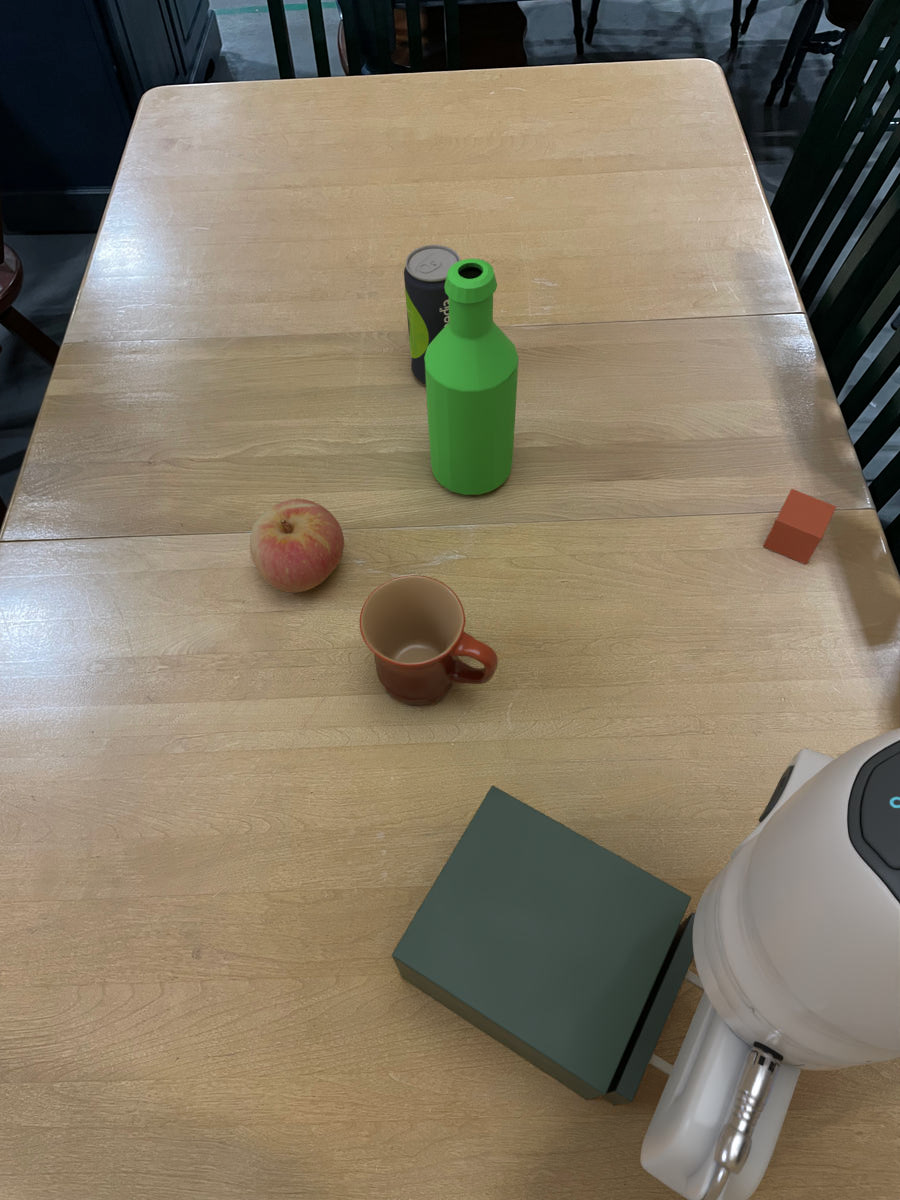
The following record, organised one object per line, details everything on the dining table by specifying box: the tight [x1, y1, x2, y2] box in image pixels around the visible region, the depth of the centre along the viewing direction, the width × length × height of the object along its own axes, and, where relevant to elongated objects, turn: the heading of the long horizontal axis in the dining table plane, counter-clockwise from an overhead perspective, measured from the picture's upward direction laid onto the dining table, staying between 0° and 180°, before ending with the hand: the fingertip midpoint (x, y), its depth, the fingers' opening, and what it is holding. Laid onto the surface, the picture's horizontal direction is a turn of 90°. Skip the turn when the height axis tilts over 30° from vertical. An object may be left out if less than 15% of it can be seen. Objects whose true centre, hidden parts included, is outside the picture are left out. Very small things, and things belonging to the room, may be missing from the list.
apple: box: [249, 498, 345, 593], centre depth 82 cm, size 9×9×8 cm
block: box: [763, 488, 837, 565], centre depth 84 cm, size 4×4×4 cm
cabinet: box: [391, 785, 692, 1101], centre depth 62 cm, size 16×14×10 cm
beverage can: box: [403, 244, 462, 385], centre depth 94 cm, size 6×6×15 cm
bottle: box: [424, 258, 519, 496], centre depth 82 cm, size 9×9×25 cm
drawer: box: [600, 912, 704, 1106], centre depth 60 cm, size 20×13×8 cm, turn 59°
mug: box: [359, 574, 499, 707], centre depth 74 cm, size 12×9×10 cm
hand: (724, 993), depth 47 cm, fingers closed
